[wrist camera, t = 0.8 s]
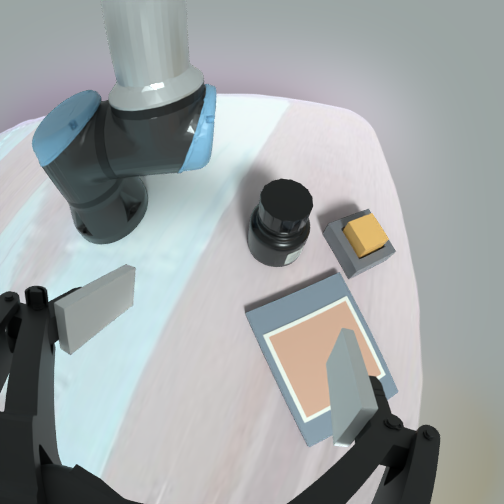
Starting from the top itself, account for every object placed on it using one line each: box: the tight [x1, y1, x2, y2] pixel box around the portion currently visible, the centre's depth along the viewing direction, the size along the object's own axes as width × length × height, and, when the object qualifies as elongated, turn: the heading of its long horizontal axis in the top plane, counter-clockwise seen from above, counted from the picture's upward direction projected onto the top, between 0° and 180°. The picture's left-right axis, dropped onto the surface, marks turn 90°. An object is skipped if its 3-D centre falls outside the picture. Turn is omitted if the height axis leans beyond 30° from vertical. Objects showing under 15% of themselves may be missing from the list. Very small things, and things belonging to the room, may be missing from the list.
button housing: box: [323, 209, 396, 279], centre depth 44 cm, size 9×9×4 cm
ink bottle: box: [248, 179, 313, 267], centre depth 39 cm, size 10×9×12 cm
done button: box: [343, 213, 389, 259], centre depth 42 cm, size 5×5×4 cm
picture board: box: [246, 272, 398, 447], centre depth 36 cm, size 22×16×1 cm
